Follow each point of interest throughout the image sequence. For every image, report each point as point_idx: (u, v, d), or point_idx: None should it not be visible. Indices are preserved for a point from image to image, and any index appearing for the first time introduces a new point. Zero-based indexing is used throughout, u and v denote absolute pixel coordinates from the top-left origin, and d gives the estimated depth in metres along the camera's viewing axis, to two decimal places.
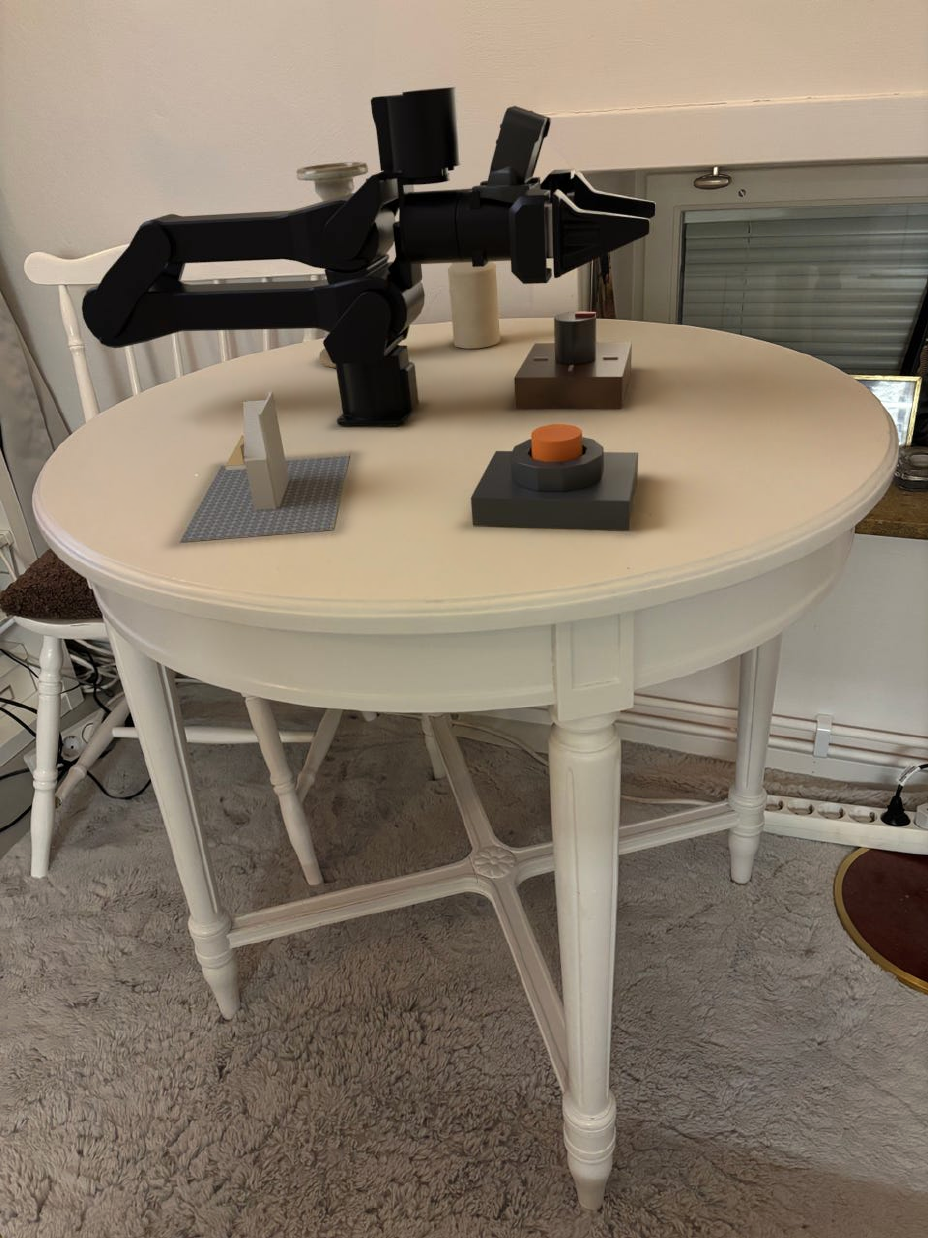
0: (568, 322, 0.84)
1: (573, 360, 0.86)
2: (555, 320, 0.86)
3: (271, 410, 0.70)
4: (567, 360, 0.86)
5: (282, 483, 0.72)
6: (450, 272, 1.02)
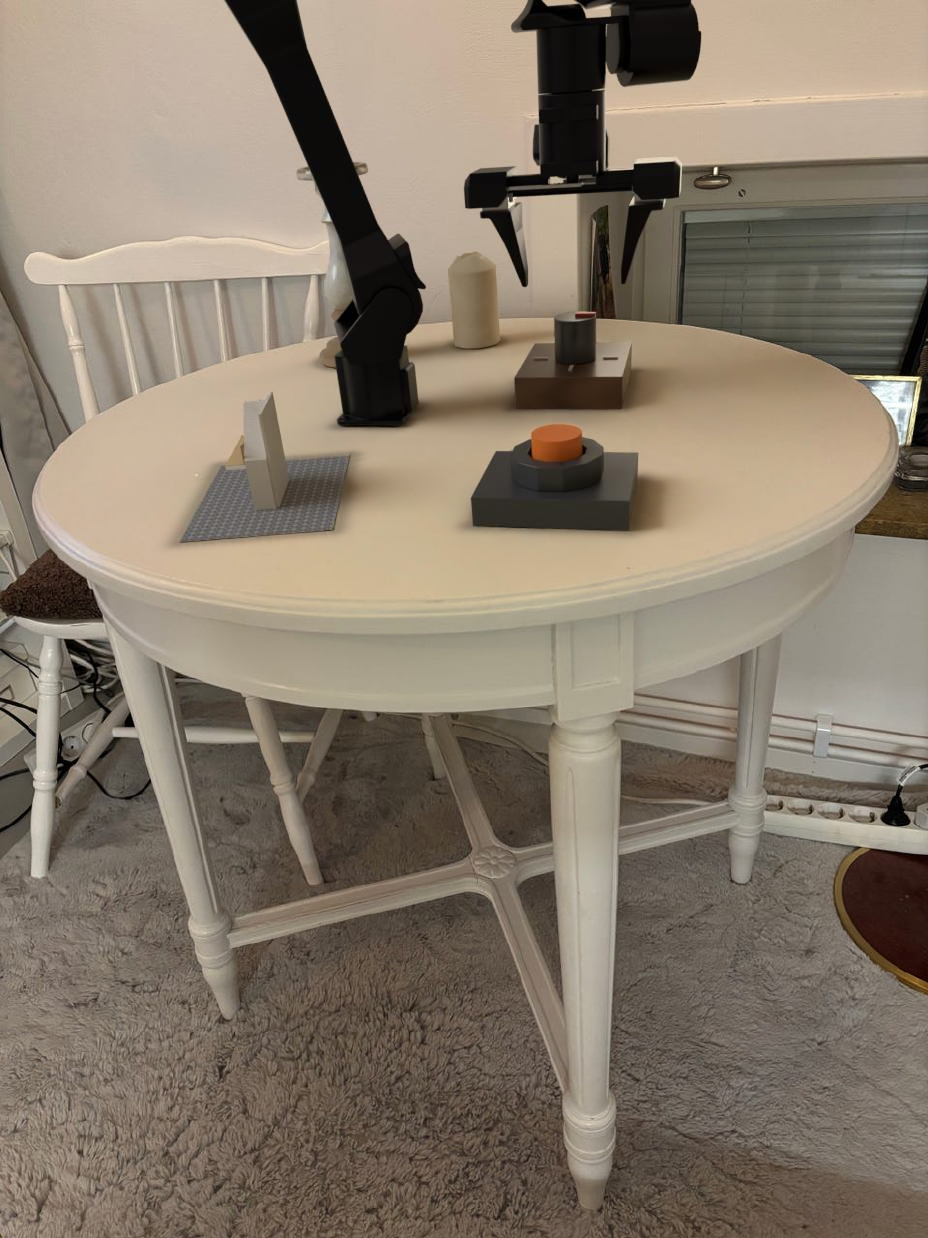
0: (568, 322, 0.84)
1: (573, 360, 0.86)
2: (555, 320, 0.86)
3: (271, 410, 0.70)
4: (567, 360, 0.86)
5: (282, 483, 0.72)
6: (450, 272, 1.02)
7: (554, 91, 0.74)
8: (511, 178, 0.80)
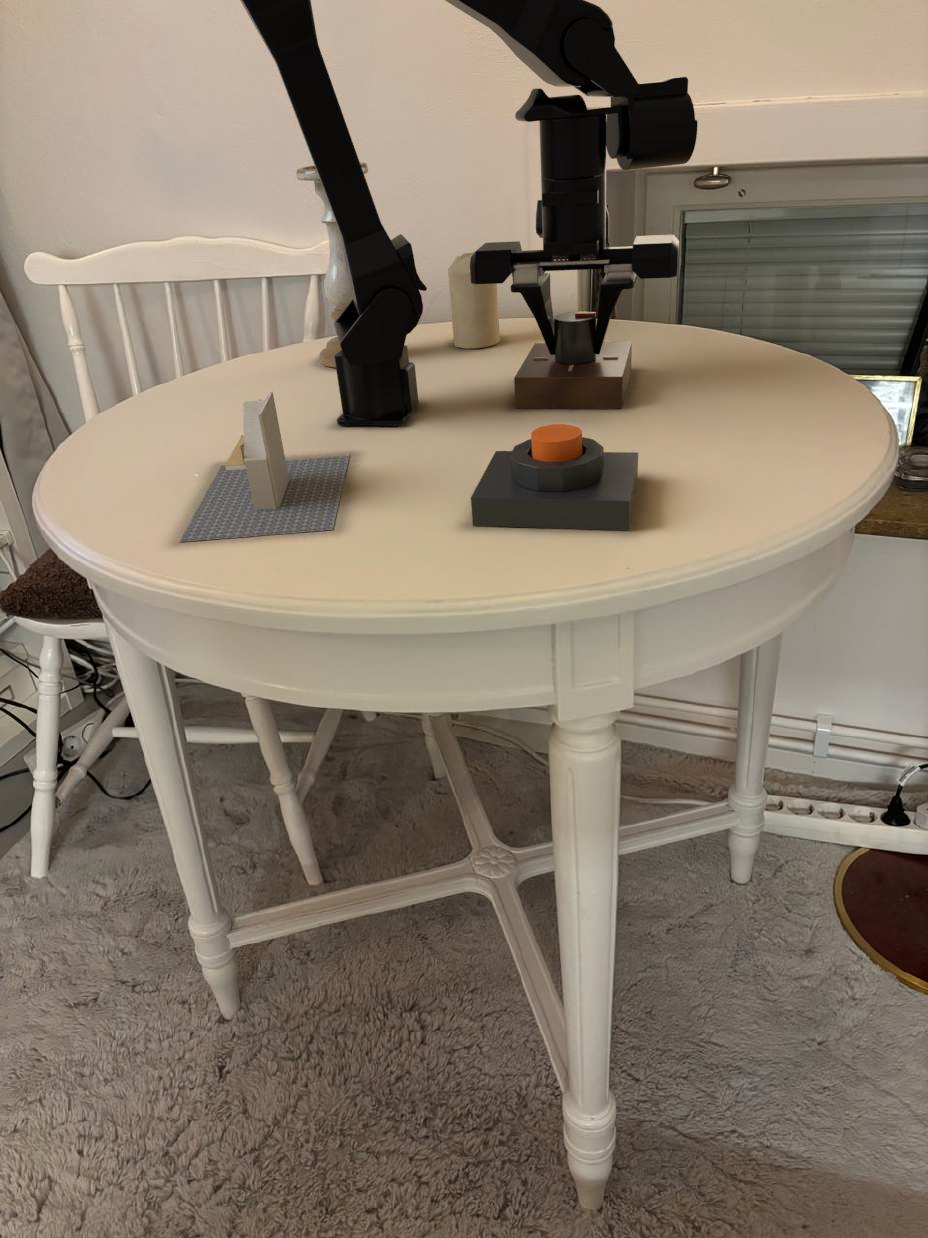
0: (568, 322, 0.84)
1: (573, 360, 0.86)
2: (555, 320, 0.86)
3: (271, 410, 0.70)
4: (567, 360, 0.86)
5: (282, 483, 0.72)
6: (450, 272, 1.02)
7: (556, 177, 0.78)
8: (515, 254, 0.84)
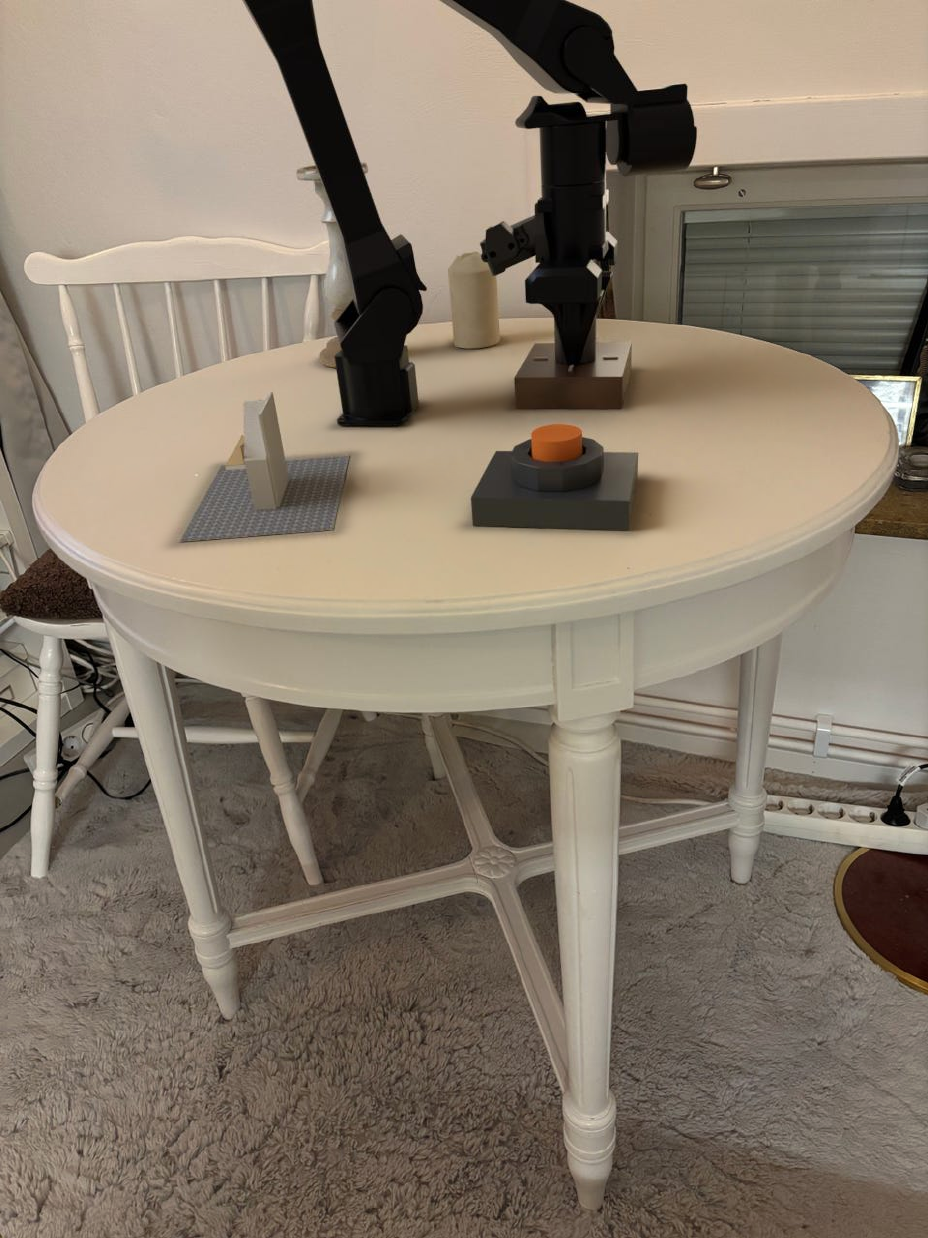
0: (595, 317, 0.85)
1: None
2: None
3: (271, 410, 0.70)
4: (594, 356, 0.87)
5: (282, 483, 0.72)
6: (450, 272, 1.02)
7: (557, 184, 0.78)
8: None
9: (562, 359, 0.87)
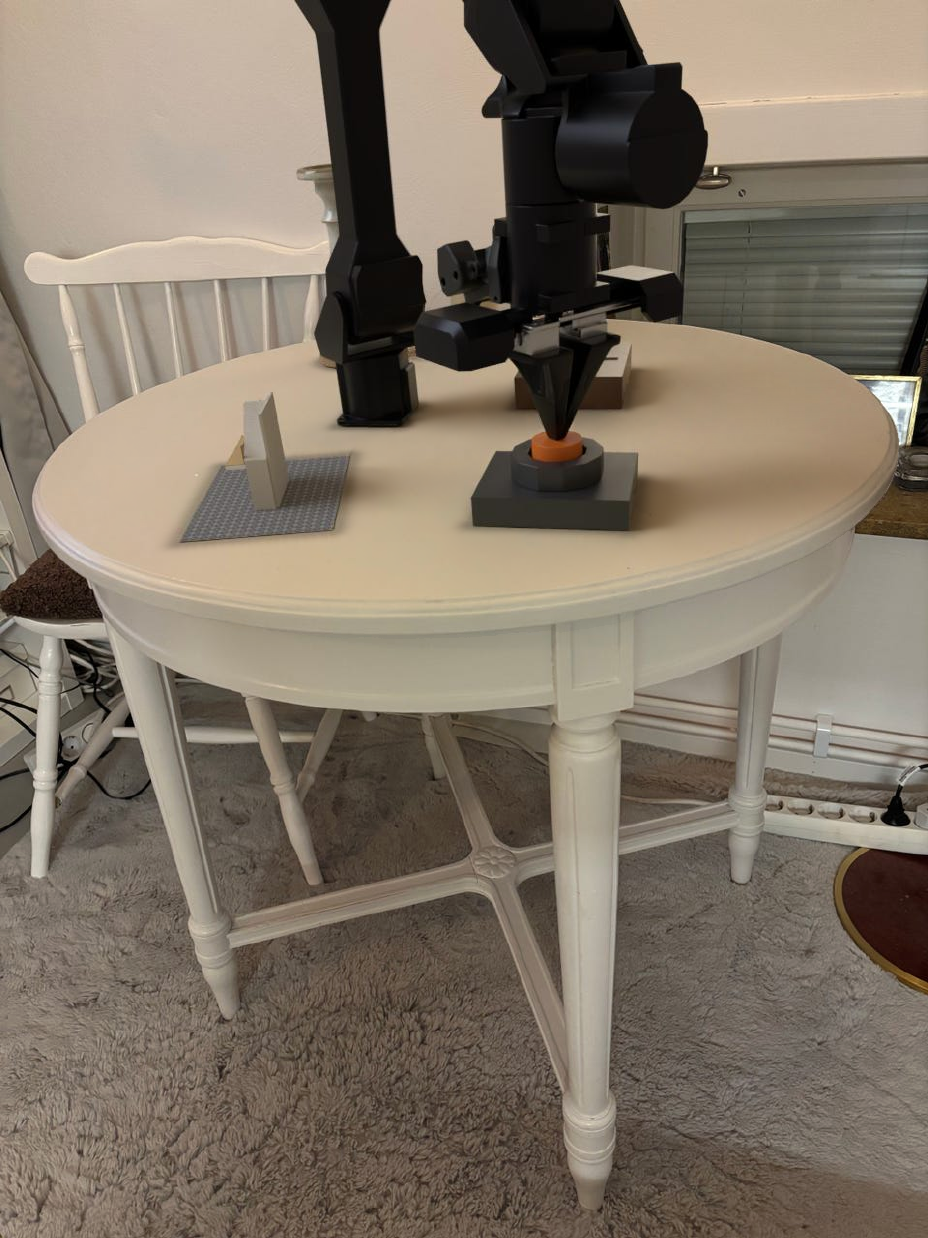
0: None
1: None
2: None
3: (271, 410, 0.70)
4: None
5: (282, 483, 0.72)
6: None
7: None
8: None
9: None
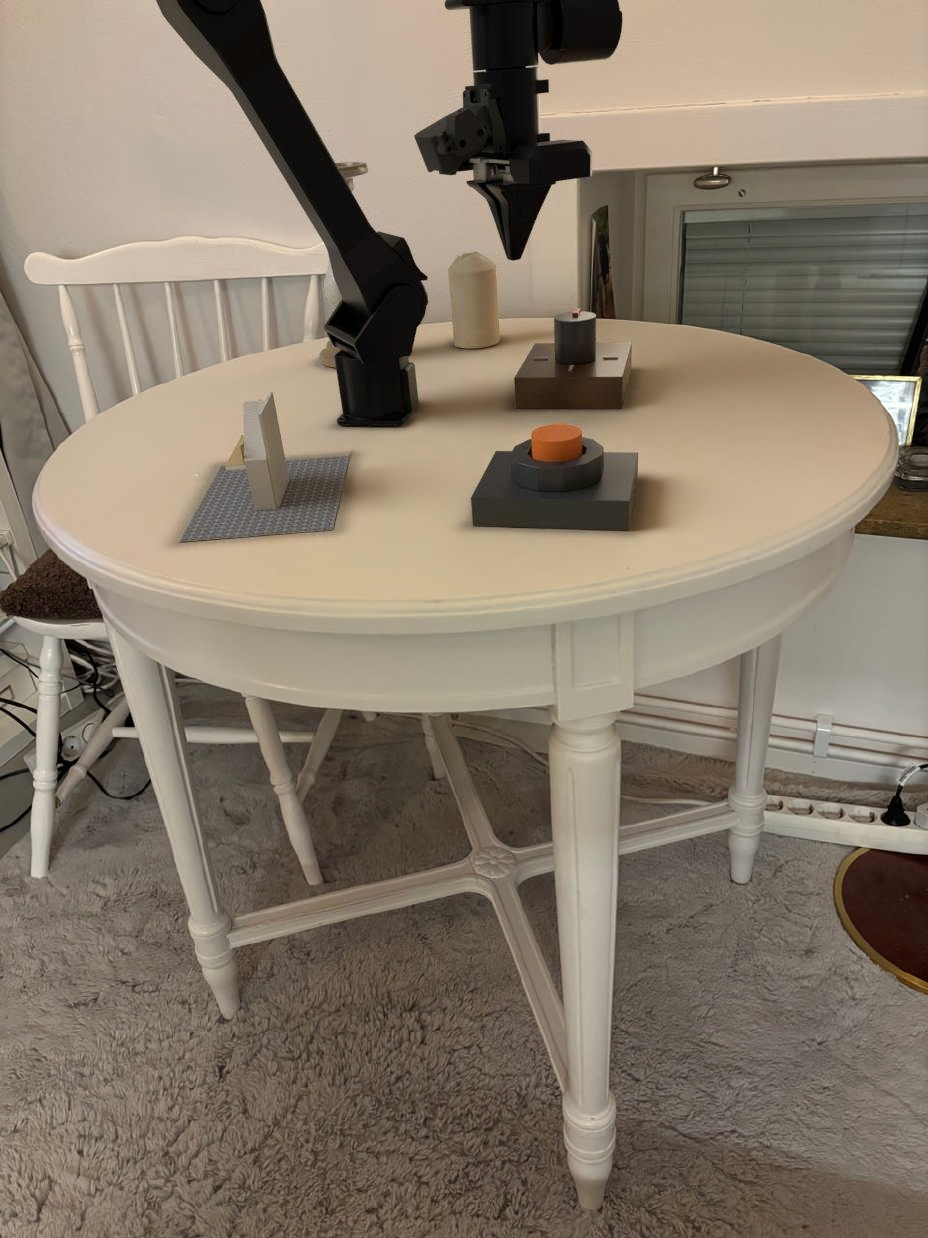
0: (595, 317, 0.85)
1: None
2: (582, 321, 0.84)
3: (271, 410, 0.70)
4: (594, 356, 0.87)
5: (282, 483, 0.72)
6: (450, 272, 1.02)
7: (495, 67, 0.76)
8: None
9: (562, 359, 0.87)
